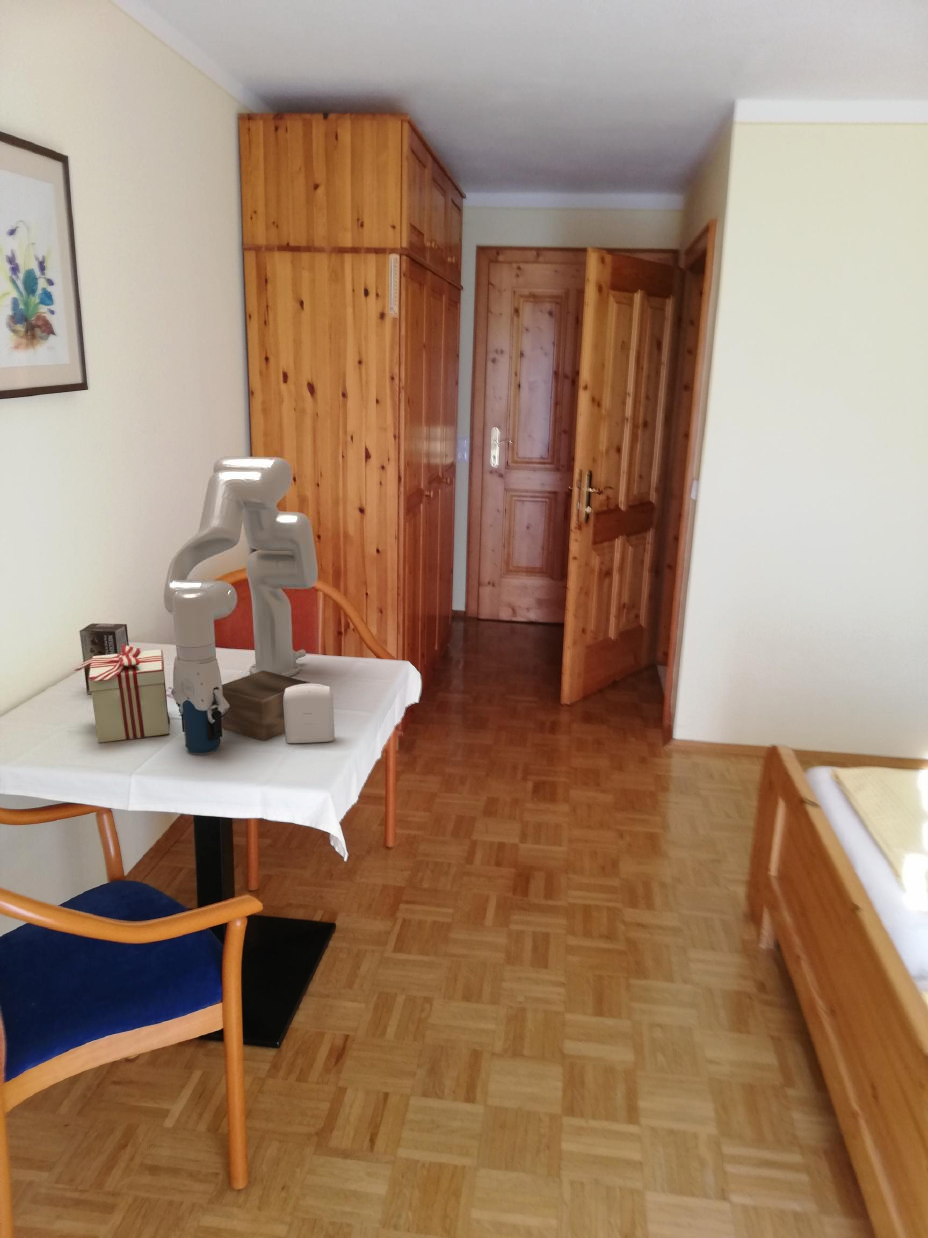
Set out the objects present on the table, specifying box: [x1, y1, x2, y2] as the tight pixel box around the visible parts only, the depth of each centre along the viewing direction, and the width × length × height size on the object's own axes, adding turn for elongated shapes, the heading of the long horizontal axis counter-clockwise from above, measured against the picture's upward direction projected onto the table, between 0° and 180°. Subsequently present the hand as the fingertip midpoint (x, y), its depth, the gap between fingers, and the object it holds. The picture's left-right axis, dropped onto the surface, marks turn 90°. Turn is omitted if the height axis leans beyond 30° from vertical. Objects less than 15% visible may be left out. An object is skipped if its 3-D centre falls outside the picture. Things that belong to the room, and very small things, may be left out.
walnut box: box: [221, 670, 311, 742], centre depth 203 cm, size 14×14×9 cm
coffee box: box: [79, 623, 130, 696], centre depth 222 cm, size 9×6×16 cm
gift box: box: [73, 645, 171, 744], centre depth 198 cm, size 17×18×17 cm
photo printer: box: [283, 683, 336, 744], centre depth 193 cm, size 10×4×12 cm, turn 96°
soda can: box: [182, 697, 222, 756], centre depth 189 cm, size 7×7×12 cm
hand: (202, 734), depth 189 cm, fingers closed on soda can, 7 cm apart
